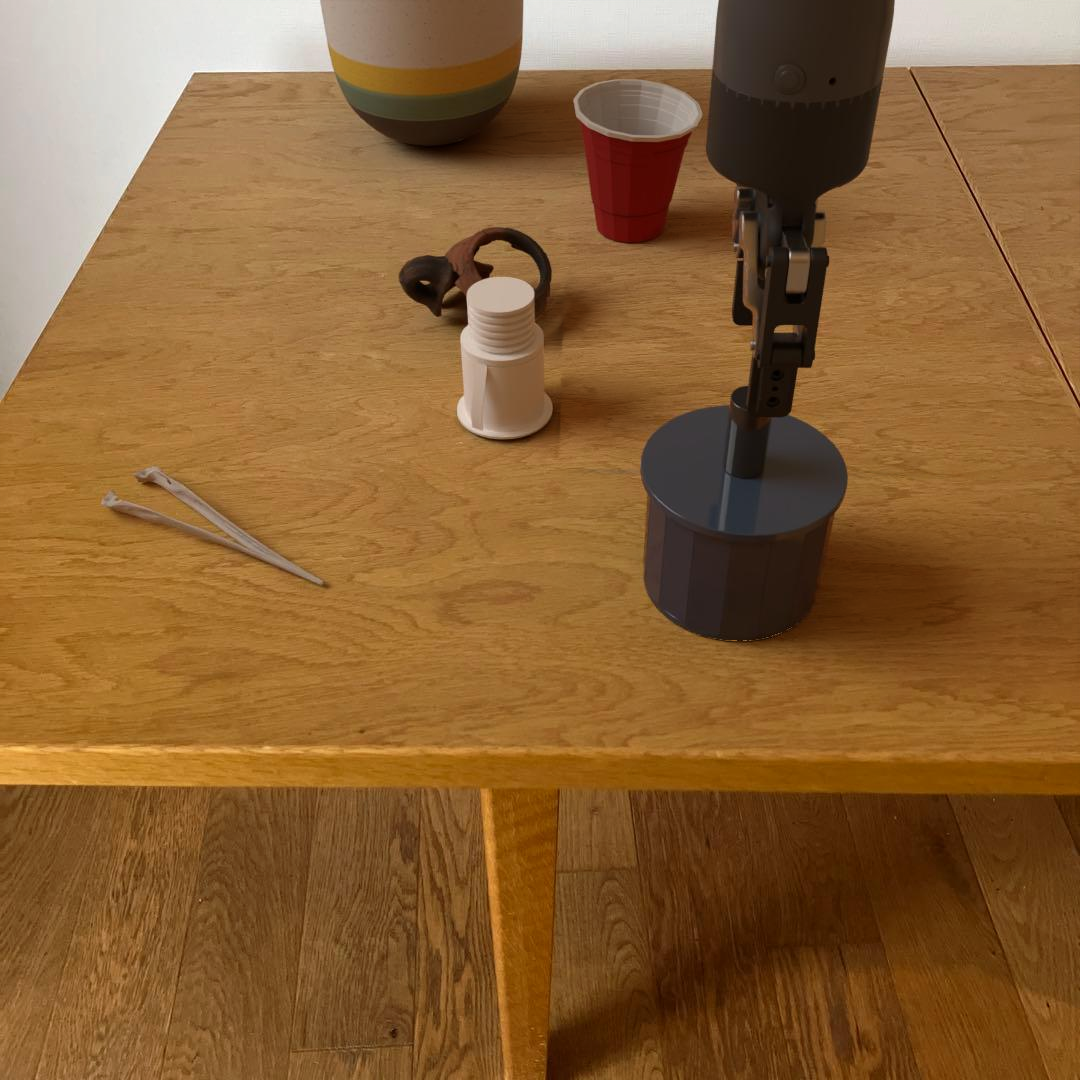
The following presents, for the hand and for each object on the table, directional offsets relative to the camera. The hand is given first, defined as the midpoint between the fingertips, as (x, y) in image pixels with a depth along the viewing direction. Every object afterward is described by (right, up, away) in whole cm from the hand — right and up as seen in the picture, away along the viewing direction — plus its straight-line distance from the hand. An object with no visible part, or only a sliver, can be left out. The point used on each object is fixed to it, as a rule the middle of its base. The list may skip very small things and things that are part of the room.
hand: (758, 365), depth 64 cm
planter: (-23, +32, +60) cm, 72 cm away
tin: (0, -12, +11) cm, 16 cm away
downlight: (-14, 0, +24) cm, 28 cm away
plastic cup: (-3, +18, +44) cm, 47 cm away
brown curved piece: (-17, +9, +34) cm, 39 cm away
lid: (0, -6, +5) cm, 8 cm away
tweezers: (-33, -9, +14) cm, 37 cm away
